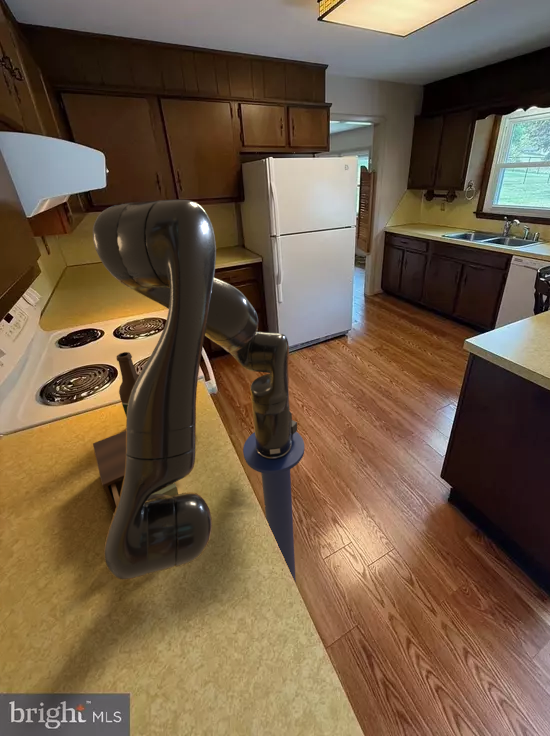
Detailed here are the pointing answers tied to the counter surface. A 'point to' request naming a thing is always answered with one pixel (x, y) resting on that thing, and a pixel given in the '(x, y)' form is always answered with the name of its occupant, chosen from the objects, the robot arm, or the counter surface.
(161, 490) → the drawer
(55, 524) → the counter surface
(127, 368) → the beer bottle
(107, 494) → the cabinet
